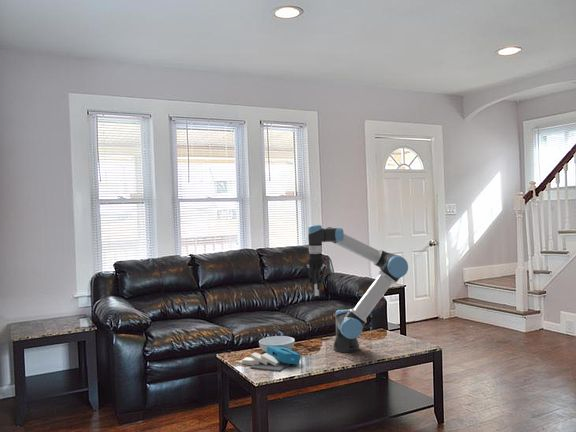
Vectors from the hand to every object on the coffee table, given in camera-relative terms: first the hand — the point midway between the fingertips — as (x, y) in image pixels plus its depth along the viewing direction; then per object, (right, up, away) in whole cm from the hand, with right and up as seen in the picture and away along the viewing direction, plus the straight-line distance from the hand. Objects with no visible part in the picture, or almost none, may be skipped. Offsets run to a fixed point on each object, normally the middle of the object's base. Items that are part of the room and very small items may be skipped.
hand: (316, 295), depth 284 cm
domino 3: (-26, -34, -12) cm, 44 cm away
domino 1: (-33, -36, -9) cm, 49 cm away
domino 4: (-21, -34, -14) cm, 42 cm away
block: (-13, -31, -16) cm, 37 cm away
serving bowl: (-22, -35, +14) cm, 44 cm away
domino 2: (-31, -34, -10) cm, 47 cm away
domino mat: (-25, -35, -12) cm, 45 cm away
